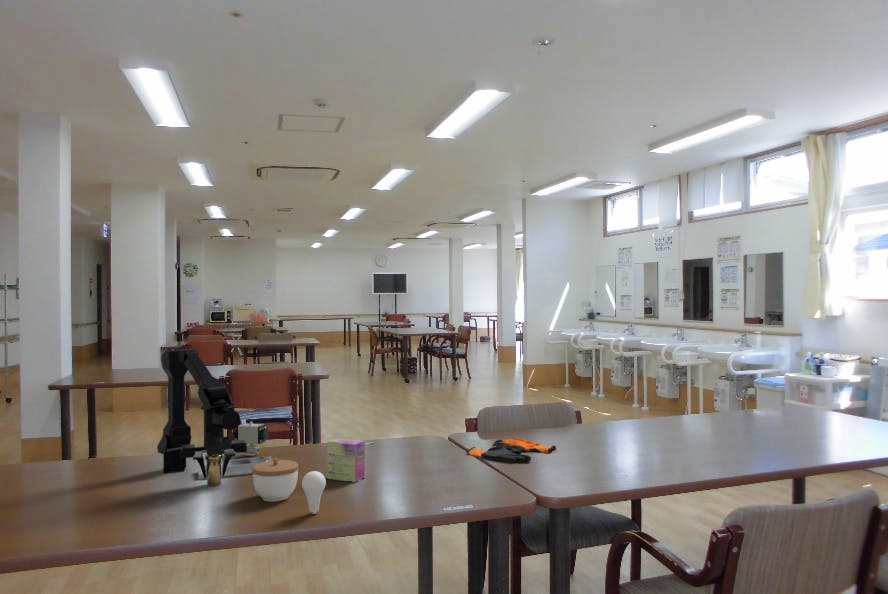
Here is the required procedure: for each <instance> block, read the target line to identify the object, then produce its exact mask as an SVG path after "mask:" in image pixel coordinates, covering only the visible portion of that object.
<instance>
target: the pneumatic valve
mask: <svg viewBox="0 0 888 594" xmlns="http://www.w3.org/2000/svg"><path fill="white" fill-rule="evenodd" d="M232 436H233V438H234V439H235V440H244V441H245V442H246V444H247V452H242V453H243V454H244V455H243V456H245V457H256V455H257V456H258V454H259V453H260V447H259V445H261V444H263V443H265V442H266V441H268V439H269V438H270V437H269V436H270V430H269V428H267V426H266V424H265V423H253V421H249V423H241V424H240V423H239V425H238V426H237V427H236V428H235V429H233V433H232Z"/></svg>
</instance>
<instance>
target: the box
mask: <svg viewBox="0 0 888 594" xmlns="http://www.w3.org/2000/svg"><path fill="white" fill-rule="evenodd" d="M326 443H327V445H326V447H327V450H326V451H327V452H326V455H327V456H326V457H327V458H326V459H327V460H326V472H327V473H326V479H327V480H336V481H342V482H347V481H352V482H351V483H353V482H356V481H358V480H360V479H362V478H364V477H365V476H366V475H365V472H366V471H365V468H366V467H365V464H366V463H365V459H366V454H365V453H366V446H365V445H366V444H365V440H357V439H348V438H342V437H341V438H340V437H337V438H334V439H330V440H327V442H326ZM364 479H365V478H364ZM362 480H363V479H362ZM360 481H361V480H360ZM358 482H359V481H358ZM356 483H357V482H356Z"/></svg>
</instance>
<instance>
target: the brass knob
mask: <svg viewBox="0 0 888 594" xmlns="http://www.w3.org/2000/svg"><path fill="white" fill-rule="evenodd" d="M223 456H224V454H222V455H219V454H218V455H212V456H208V455H207V454H205V456H204V460H205V461H206V465H207V479H206V486H207V487H219V486H221V485H222V477H221V465H222V459H223Z"/></svg>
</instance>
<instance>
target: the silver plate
mask: <svg viewBox="0 0 888 594" xmlns="http://www.w3.org/2000/svg"><path fill="white" fill-rule="evenodd" d="M273 459H274V458H272V456H271V455H260V456H252V457H246V458H245V457H244V458H243V457H242V458H236V459H235V458H234V459H230V461H229V463H228V465H227V468H226V471H225V475H224V476H222V467H223V464H221V478H225V477H235V476H241V475H243V476H244V475H253V472H252V467H253V466H254V465H256V464H258V463H261V462H265V461H272V460H273ZM205 472H206V478H204V476H203V473H202V470H201V467H197V476H198V480H199V481H200V480H207V464H206V465H205Z"/></svg>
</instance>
